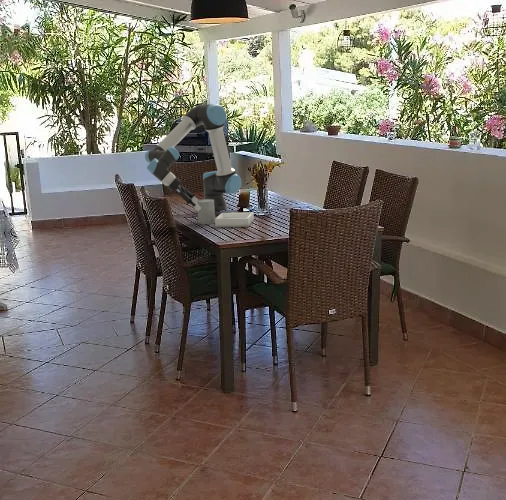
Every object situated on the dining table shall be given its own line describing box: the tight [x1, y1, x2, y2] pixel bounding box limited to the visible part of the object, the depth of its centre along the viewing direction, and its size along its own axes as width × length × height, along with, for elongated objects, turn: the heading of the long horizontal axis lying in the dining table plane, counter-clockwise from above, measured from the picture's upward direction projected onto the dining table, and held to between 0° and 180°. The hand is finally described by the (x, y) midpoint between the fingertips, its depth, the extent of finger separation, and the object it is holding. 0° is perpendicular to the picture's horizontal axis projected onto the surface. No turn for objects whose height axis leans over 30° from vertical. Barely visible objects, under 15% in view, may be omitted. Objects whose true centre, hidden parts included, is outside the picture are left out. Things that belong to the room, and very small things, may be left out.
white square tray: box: [214, 211, 255, 228], centre depth 385 cm, size 18×18×4 cm
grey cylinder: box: [197, 198, 216, 225], centre depth 392 cm, size 10×10×12 cm
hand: (200, 207), depth 391 cm, fingers open, 13 cm apart
